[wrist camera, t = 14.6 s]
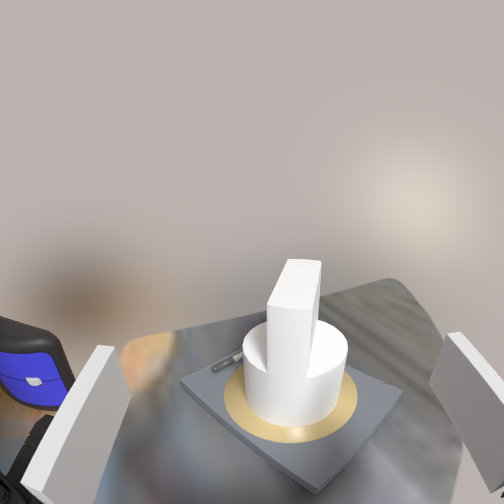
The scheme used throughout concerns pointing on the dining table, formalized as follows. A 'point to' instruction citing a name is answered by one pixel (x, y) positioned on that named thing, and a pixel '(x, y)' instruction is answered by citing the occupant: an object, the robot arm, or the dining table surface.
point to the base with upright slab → (294, 353)
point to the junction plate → (296, 438)
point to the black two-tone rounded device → (33, 366)
